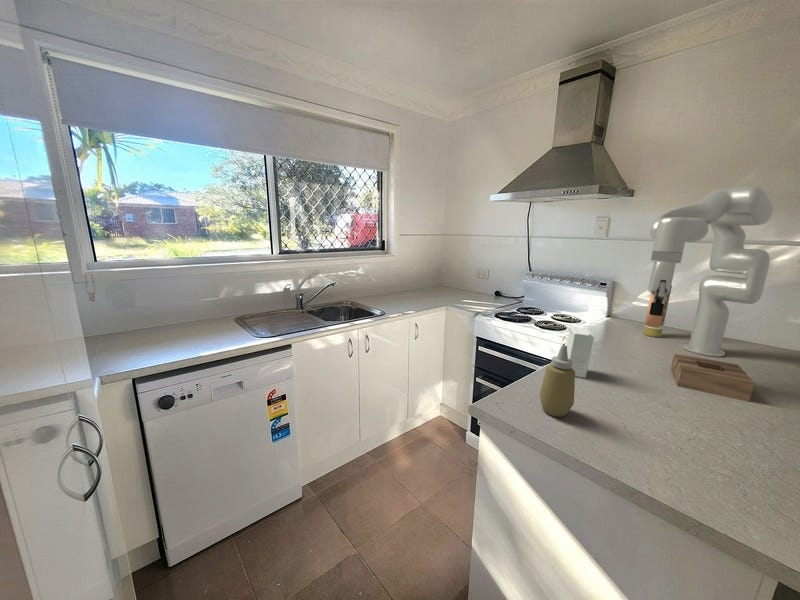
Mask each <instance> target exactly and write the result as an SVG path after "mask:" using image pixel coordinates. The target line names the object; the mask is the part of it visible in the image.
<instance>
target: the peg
mask: <svg viewBox="0 0 800 600" xmlns="http://www.w3.org/2000/svg"><path fill="white" fill-rule="evenodd" d="M659 286H660V285H659ZM666 291H667V290H666ZM656 293H659V291H656ZM666 295H667V294H666ZM666 295H665V300H666ZM656 296H657V295H656ZM653 298H654V292H652V293H650V296H649V301H648V306H647V312H646V315H645V316H646V317H645V322H644V326H645V325H646V326H649V327H655V328H659V327H660V324H661V319H662V316H657V315H650V314H649V313H650V308H651V303H652V302H653ZM665 300H664V305H665ZM663 310H664V308H663ZM662 315H663V313H662Z"/></svg>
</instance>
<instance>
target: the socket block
mask: <svg viewBox="0 0 800 600" xmlns="http://www.w3.org/2000/svg"><path fill="white" fill-rule="evenodd" d="M670 371H671V374H672V377H673V379H674V381H675V383H676V385H677V386H678V387H682V388H685V389H690V390H695V391H699V392H704V393H709V394H713V395H718V396H723V397H727V398H731V399H734V400H740V401H744V400H745V402H750V401H751V396H752V393H753V388H754V387H755V381H754V380H753V379H752V378H751V377H750V376H749V374H747V373H746V371H745V370H743V368H742V367H741V366H740V365H739V364H738V363H731V362H725V361H720V360H715V359H709V358H704V357H698V356H692V355H688V354H681V353H677V352H676V353H675V352H674V353H673V357H672V362H671V366H670Z"/></svg>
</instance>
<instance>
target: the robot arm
mask: <svg viewBox="0 0 800 600" xmlns="http://www.w3.org/2000/svg"><path fill="white" fill-rule="evenodd" d="M773 209H774V208H773V204H772V202H771V200H770V198H769V197H768V195H767V194H766V192H765V191H764V190H763V189H762V188H760V187H759V186H754V185H752V186H738V187H737V186H736V187H735V186H734V187H724V188H723V187H722V188H717V189H714V190H712V191H710V192H709V193H708V194H707V195H705V196H704V197H702V198H701V199H699V200H698V201H697V202H695V203H691V204H688V205H684V206H681V207H676V208H673V209H671V210H668V211H666V212H664V213H663V214H662V215H660V216H659V217H657V218H656V219H655V220H654V221H653V223H651V226H650V228H649V230H650V231H649V233H650V237H651V238H652V239H654V240H653V241H654V242H653V247H652V252H651V257H650V262H653V266H652V268H651V269H652V270H651V274H650V279H649V283H648V288H647V291H648V292H649V293H650V294H651V293H652V292H654V298H653V302H652V303H651V308H650V313H649V314H650V315H657V316H662V313H663V308H664V300H665V295H666V294H669V291H670V288H671V284H672V283H673V279H674V274H675V269H676V265H677V264H681V263H682V259H683V254H684V249H685V244H686V243H694V242H699V241H701V240H703V239H704V238H705V237H706V236H707V235H708V232H709V225H710V227H711V230H712V233H713V242H712V245H711V246H712V248H711V252H710V255H709V257H710V258H709V262H708V263H709V265H708V266H709V269H710V270H712V271H714V272H718V273H725V274H726V273H727V274H737V275H739V274H740V275H744V276H745V277H738V276H731V275H730V276H729V275H728V276H727V275H719V274H711V275H707V276H704V277H703V278H702V279H701V281H700V283H699V286H698V288H699V289H698V292H699V293H698V302H697V303H698V304H697V307H696V308H697V309H696V313H695V316H694V320H693V325H692V330H691V335H690V338H689V343H684V344H683V348H684V350H686V351H688V352H692V353H694V354H698V355H702V356H709V357H716V358H717V357H718V358H720V357H725V355H726V353H725V351H724V350H721V348H722V344H723V341H724V336H725V333H726V329H727V324H728V320H729V317H730V309H729V307H728V305H727V304H726V303H725V302H731V303H737V304H739V303H740V304H745V305H752V304H756V303H757V302H759V301H760V299H761V298H762V296H763V292H764V288H765V284H766V280H767V275H768V272H769V267H770V262H771V260H770V254H769V253H768V251H766V250H764V249H757V248H745V246H744V245H745V241H746V231H745V230H744V229H743V227H742V226H761V225H764V224H767V222H769V220H770V219H771V217H772V215H773ZM659 285H660V286H659ZM672 285H673V284H672ZM671 289H672V288H671ZM666 290H667V291H666ZM656 291H659V293H656ZM656 295H657V296H656Z"/></svg>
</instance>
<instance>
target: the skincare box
mask: <svg viewBox="0 0 800 600" xmlns="http://www.w3.org/2000/svg"><path fill="white" fill-rule="evenodd" d="M568 331H569V332H568V337H567V342H566V346H567V354H568V359H570V360H572V369H573V370H574V371H575V377H576V376H577V378H582V377H583V379H585V378H586V377H587V373H588V367H589V363H590V357H591V352H592V349H593V343H594V337H595V336H594V334H592V332H591V330H589V328H585V327H578V326H571V325H570V326H569V330H568Z"/></svg>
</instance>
